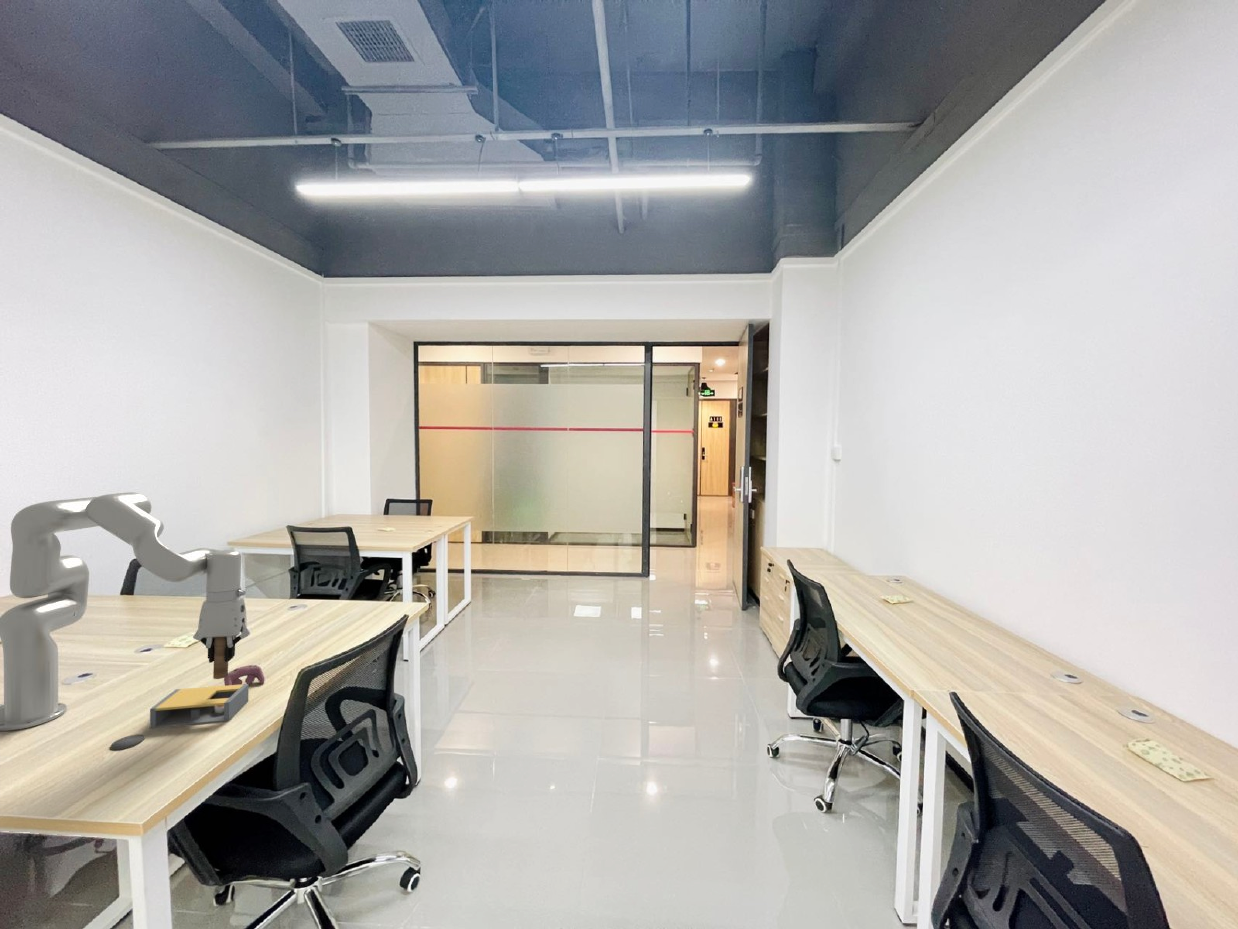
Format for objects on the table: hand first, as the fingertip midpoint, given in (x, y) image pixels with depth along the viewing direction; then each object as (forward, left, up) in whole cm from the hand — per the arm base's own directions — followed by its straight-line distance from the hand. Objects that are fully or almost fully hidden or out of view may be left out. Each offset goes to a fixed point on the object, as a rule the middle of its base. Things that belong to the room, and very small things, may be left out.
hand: (221, 659), depth 140 cm
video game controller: (-1, +16, -15) cm, 22 cm away
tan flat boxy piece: (-5, 0, -15) cm, 16 cm away
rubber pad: (-15, -12, -15) cm, 24 cm away
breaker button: (0, 0, -14) cm, 14 cm away
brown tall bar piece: (0, 0, -5) cm, 5 cm away
